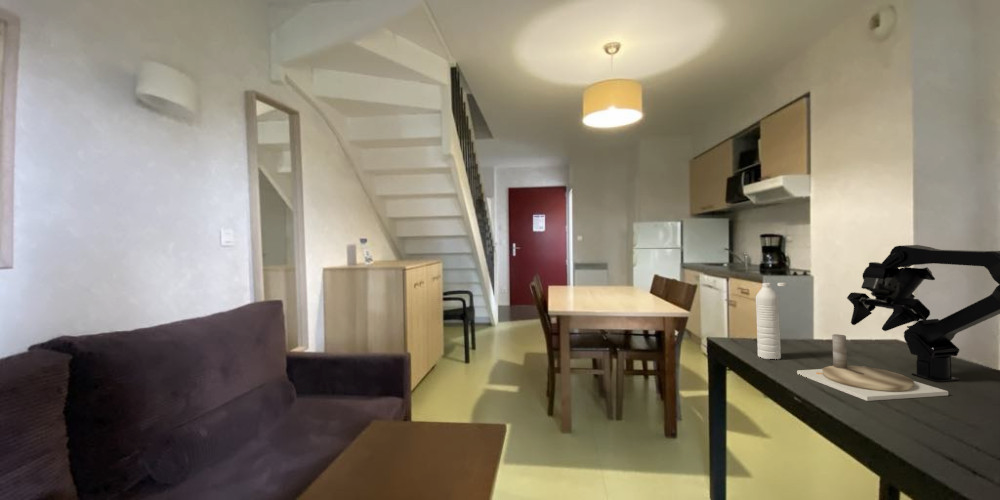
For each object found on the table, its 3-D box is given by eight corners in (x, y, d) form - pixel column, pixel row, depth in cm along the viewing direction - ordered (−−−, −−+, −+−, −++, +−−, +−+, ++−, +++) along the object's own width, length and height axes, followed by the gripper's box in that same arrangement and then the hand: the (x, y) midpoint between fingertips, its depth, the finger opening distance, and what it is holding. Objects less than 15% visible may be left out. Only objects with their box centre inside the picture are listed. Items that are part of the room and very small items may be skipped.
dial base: (864, 369, 119) (864, 365, 119) (948, 395, 98) (948, 390, 98) (797, 373, 118) (797, 370, 118) (867, 400, 97) (867, 396, 97)
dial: (864, 367, 117) (863, 332, 117) (935, 388, 99) (933, 347, 99) (806, 370, 116) (804, 336, 116) (866, 392, 98) (865, 351, 98)
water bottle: (757, 358, 134) (754, 283, 134) (758, 353, 140) (755, 281, 139) (789, 361, 129) (786, 283, 129) (789, 356, 135) (786, 282, 135)
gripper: (851, 266, 124) (819, 303, 124) (918, 268, 106) (881, 313, 105) (875, 290, 125) (844, 328, 124) (947, 297, 106) (910, 341, 105)
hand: (867, 326), depth 115 cm, fingers open, 9 cm apart
